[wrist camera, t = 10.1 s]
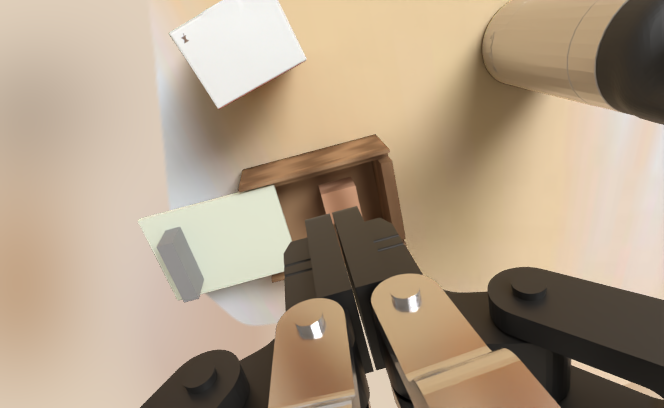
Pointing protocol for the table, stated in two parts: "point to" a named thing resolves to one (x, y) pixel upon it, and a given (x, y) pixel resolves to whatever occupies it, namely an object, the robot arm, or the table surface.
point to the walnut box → (331, 185)
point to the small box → (238, 47)
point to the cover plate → (219, 241)
